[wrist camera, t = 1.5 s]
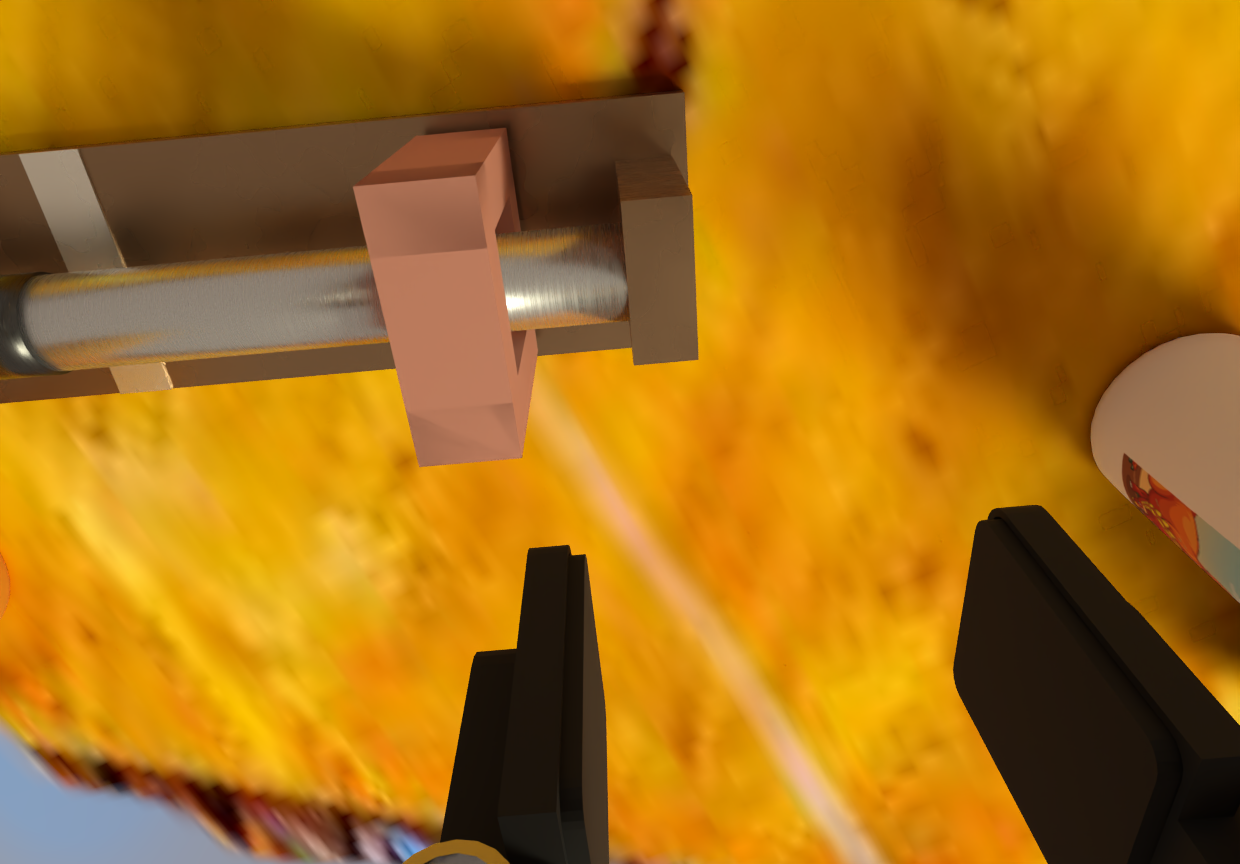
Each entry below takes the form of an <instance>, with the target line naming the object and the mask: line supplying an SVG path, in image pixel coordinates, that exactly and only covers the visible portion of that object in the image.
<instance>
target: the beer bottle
mask: <svg viewBox="0 0 1240 864" xmlns="http://www.w3.org/2000/svg"><path fill="white" fill-rule="evenodd" d="M9 596H10V578H9V574H8V571H7V567H6V564H5V562H4V560H3V558H2V556H1V554H0V619H1V618H2V616H3V614H4V612H5V610H6V607H7V604H8V600H9Z"/></svg>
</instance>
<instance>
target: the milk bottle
mask: <svg viewBox="0 0 1240 864" xmlns="http://www.w3.org/2000/svg"><path fill="white" fill-rule="evenodd" d="M1090 440H1091V445H1092V452H1093V456H1094V459H1095V462H1096V464H1097V466H1098V468H1099V470H1100V471H1101V472H1102V474H1103V475H1104V476H1105V477H1106V478H1107V479H1108V480H1109V481H1110V482H1111V483H1112V484H1113V485H1114V486H1115V487H1116V488H1117V489H1118V490H1119V491H1120V492H1121V493H1122V494H1123V495H1124V496H1125V497H1126V498H1127V499H1128V500H1129V501H1130V502H1131V503H1132V504H1133V505H1134V506H1136V507H1137V508H1138V509H1139V510H1140V511H1141V512H1142V513H1143V514H1144V515H1145V516H1146V517H1147V518H1148V519H1149V520H1150V521H1151V522H1153V523H1154V524H1155V525H1156V526H1157V527H1158V528H1159V529H1160V530H1161V531H1162V532H1163V533H1164V534H1165V535H1166V536H1167V537H1169V538H1170V539H1171V540H1172V541H1173V542H1174V543H1175V544H1176V545H1177V546H1178V547H1179V548H1180V549H1181V550H1182V551H1183V552H1185V553H1186V554H1187V555H1188V556H1189V557H1190V558H1191V559H1192V560H1193V561H1194V562H1195V563H1196V564H1197V565H1198V566H1199V567H1201V568H1202V569H1203V570H1204V571H1205V572H1206V573H1207V574H1208V575H1209V576H1210V577H1211V578H1213V579H1214V580H1215V581H1216V582H1217V583H1218V584H1219V585H1220V586H1221V587H1222V588H1223V589H1224V590H1226V591H1227V592H1228V593H1229V594H1230V595H1231V596H1232V597H1233V598H1234V599H1235V600H1236V601H1238V602H1239V603H1240V336H1238V335H1234V334H1226V333H1205V334H1195V335H1190V336H1185V337H1180V338H1177V339H1174V340H1172V341H1169V342H1166V343H1163V344H1161V345H1159V346H1157V347H1156V348H1154V349H1152V350H1150V351H1148V352H1146V353H1144V354H1143V355H1142V356H1140V357H1139V358H1138V359H1136V360H1135V361H1134V362H1132V363H1131V364H1129V365H1128V366H1127V367H1126V368H1125V369H1124V370H1123V371H1122V372H1121V373H1120V374H1119V375H1118V376H1117V377H1116V378H1115V379H1114V380H1113V382H1112V383H1111V384H1110V386H1109V387H1108V388H1107V390H1106V391H1105V392H1104V394H1103V396H1102V398H1101V400H1100V402H1099V403H1098V405H1097V407H1096V409H1095V413H1094V417H1093V420H1092V423H1091V434H1090Z"/></svg>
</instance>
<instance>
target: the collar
mask: <svg viewBox="0 0 1240 864" xmlns="http://www.w3.org/2000/svg"><path fill="white" fill-rule="evenodd" d="M353 190H354V194H355V198H356V202H357V206H358V211H359V215H360V219H361V223H362V227H363V232H364V236H365V240H366V244H367V248H368V253H369V257H370V261H371V265H372V270H373V274H374V278H375V282H376V286H377V291H378V295H379V299H380V303H381V307H382V312H383V316H384V320H385V324H386V329H387V333H388V337H389V341H390V345H391V350H392V354H393V358H394V362H395V366H396V371H397V375H398V379H399V383H400V387H401V392H402V396H403V400H404V404H405V409H406V413H407V417H408V421H409V425H410V430H411V434H412V438H413V442H414V446H415V451H416V455H417V459H418V463H419V467H423V466H435V465H446V464H458V463H469V462H481V461H492V460H504V459H515V458H522V453H523V446H524V440H525V433H526V427H527V420H528V413H529V407H530V400H531V393H532V387H533V380H534V374H535V367H536V360H537V354H538V348H537V341H536V334H535V329H532V330H520V331H511V329H510V323H509V317H508V310H507V304H506V298H505V291H504V285H503V279H502V272H501V266H500V260H499V253H498V247H497V241H496V234H499V233H510V232H521V228H520V221H519V214H518V207H517V200H516V193H515V186H514V179H513V172H512V165H511V158H510V151H509V144H508V137H507V130H506V128H497V129H486V130H475V131H464V132H454V133H443V134H432V135H421V136H415V137H414V138H413V139H412V140H410V141H409V142H408V143H407V144H405V145H404V146H403V147H402V148H400V149H399V150H398V151H397V152H395V153H394V154H393V155H392V156H390V157H389V158H388V159H387V160H385V161H384V162H383V163H382V164H380V165H379V166H378V167H377V168H375V169H374V170H373V171H372V172H370V173H369V174H368V175H367V176H365V177H364V178H363V179H362V180H360V181H359V182H358V183H357V184H355V185H354V186H353Z"/></svg>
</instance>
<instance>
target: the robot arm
mask: <svg viewBox="0 0 1240 864" xmlns="http://www.w3.org/2000/svg"><path fill="white" fill-rule="evenodd" d="M953 673H954V680H955V685H956V688H957V691H958V693H959V696H960V698H961V699H962V701H963V703H964V705H965V707H966V709H967V711H968V713H969V715H970V717H971V718H972V720H973V722H974V724H975V726H976V728H977V730H978V732H979V734H980V736H981V737H982V739H983V741H984V743H985V745H986V747H987V749H988V751H989V753H990V755H991V756H992V758H993V760H994V762H995V764H996V766H997V768H998V770H999V772H1000V774H1001V776H1002V777H1003V779H1004V781H1005V783H1006V785H1007V787H1008V789H1009V791H1010V793H1011V795H1012V796H1013V798H1014V800H1015V802H1016V804H1017V806H1018V808H1019V810H1020V812H1021V814H1022V815H1023V817H1024V819H1025V821H1026V823H1027V825H1028V827H1029V829H1030V831H1031V833H1032V834H1033V836H1034V838H1035V840H1036V842H1037V844H1038V846H1039V848H1040V850H1041V852H1042V853H1043V855H1044V857H1045V859H1046V861H1047V863H1048V864H1240V725H1239V724H1238V723H1237V722H1236V721H1235V720H1234V719H1233V718H1232V716H1231V715H1230V714H1229V713H1228V712H1227V711H1226V710H1225V709H1224V707H1223V706H1222V705H1221V704H1220V703H1219V702H1218V701H1217V700H1216V698H1215V697H1214V696H1213V695H1212V694H1211V693H1210V692H1209V691H1208V689H1207V688H1206V687H1205V686H1204V685H1203V684H1202V683H1201V681H1200V680H1199V679H1198V678H1197V677H1196V676H1195V675H1194V674H1193V672H1192V671H1191V670H1190V669H1189V668H1188V667H1187V666H1186V665H1185V663H1184V662H1183V661H1182V660H1181V659H1180V658H1179V657H1178V656H1177V654H1176V653H1175V652H1174V651H1173V650H1172V649H1171V648H1170V647H1169V645H1168V644H1167V643H1166V642H1165V641H1164V640H1163V639H1162V638H1161V636H1160V635H1159V634H1158V633H1157V632H1156V631H1155V630H1154V629H1153V627H1152V626H1151V625H1150V624H1149V623H1148V622H1147V621H1146V620H1145V618H1144V617H1143V616H1142V615H1141V614H1140V613H1139V612H1138V611H1137V610H1136V609H1135V608H1134V607H1133V606H1132V605H1131V604H1129V603H1128V602H1127V601H1126V600H1125V599H1124V598H1123V597H1122V596H1121V594H1120V593H1119V592H1118V591H1117V590H1116V589H1115V588H1114V586H1113V585H1112V584H1111V583H1110V582H1109V581H1108V580H1107V579H1106V577H1105V576H1104V575H1103V574H1102V573H1101V572H1100V571H1099V570H1098V568H1097V567H1096V566H1095V565H1094V564H1093V563H1092V562H1091V560H1090V559H1089V558H1088V557H1087V556H1086V555H1085V554H1084V553H1083V551H1082V550H1081V549H1080V548H1079V547H1078V546H1077V545H1076V543H1075V542H1074V541H1073V540H1072V539H1071V538H1070V537H1069V536H1068V534H1067V533H1066V532H1065V531H1064V530H1063V529H1062V528H1061V527H1060V525H1059V524H1058V523H1057V522H1056V521H1055V520H1054V519H1053V517H1052V516H1051V515H1050V514H1049V513H1048V512H1047V511H1046V510H1045V509H1044V508H1043V507H1042V506H1038V505H1029V506H1017V507H1005V508H996V509H993V510H992V511H991V512H990V514H989V516H988V520H982V521H979V522H978V524H977V526H976V529H975V535H974V541H973V547H972V554H971V560H970V566H969V572H968V579H967V585H966V591H965V597H964V603H963V610H962V616H961V622H960V628H959V635H958V641H957V647H956V653H955V659H954V667H953ZM403 864H609V840H608V791H607V741H606V711H605V699H604V690H603V682H602V675H601V667H600V659H599V651H598V643H597V636H596V628H595V620H594V612H593V604H592V596H591V589H590V581H589V573H588V565H587V558H586V555H585V554H583V555H571V550H570V546H569V545H562V546H551V547H539V548H529V550H528V554H527V563H526V571H525V580H524V589H523V597H522V606H521V615H520V623H519V632H518V641H517V649H507V650H495V651H484V652H477V653H476V654H475V656H474V659H473V663H472V667H471V673H470V678H469V684H468V689H467V695H466V700H465V706H464V712H463V717H462V723H461V728H460V734H459V740H458V745H457V751H456V756H455V762H454V768H453V773H452V779H451V784H450V790H449V796H448V801H447V807H446V812H445V818H444V823H443V829H442V835H441V840H440V843H437V844H434V845H432V846H430V847H428V848H426V849H423V850H421V851H419V852H417V853H415V854H413V855H412V856H411V857H410V858H409V859H407V860H406V861H405V862H404V863H403Z"/></svg>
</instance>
